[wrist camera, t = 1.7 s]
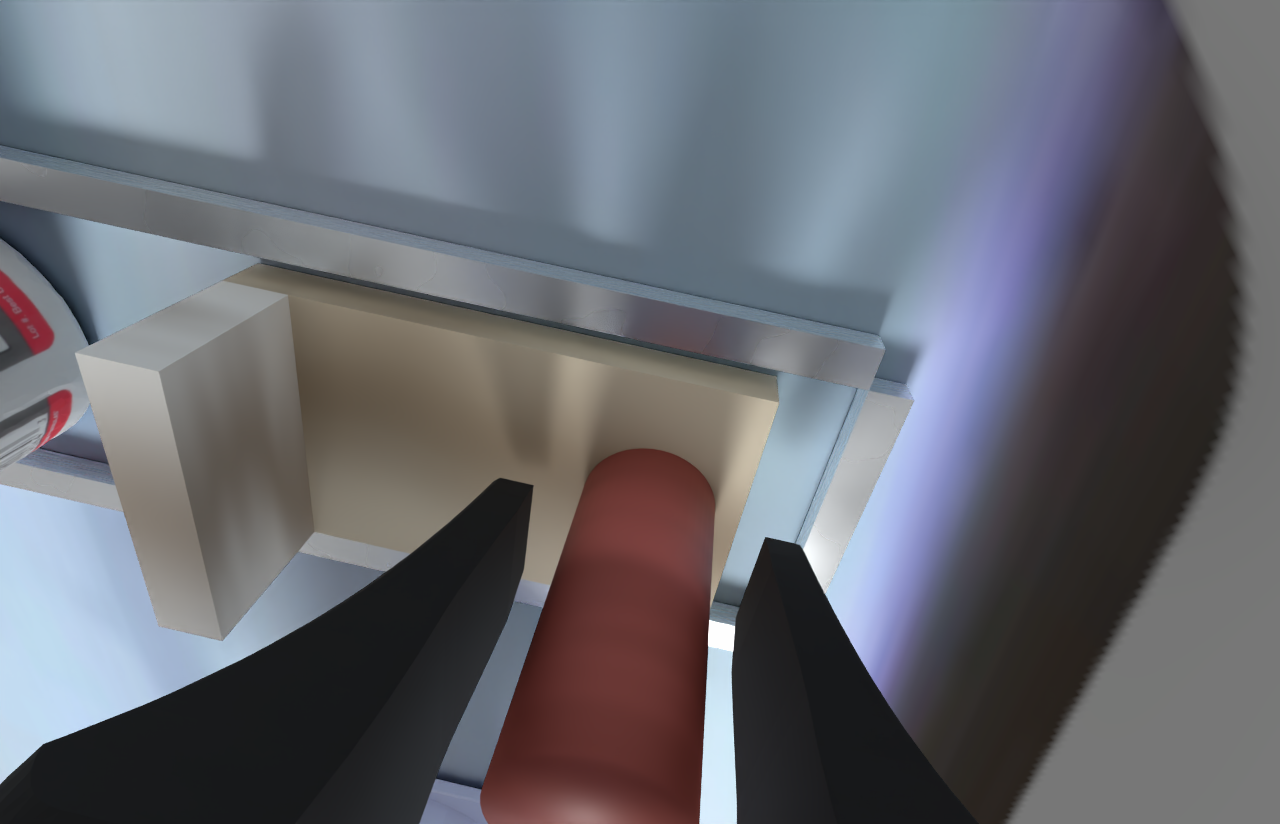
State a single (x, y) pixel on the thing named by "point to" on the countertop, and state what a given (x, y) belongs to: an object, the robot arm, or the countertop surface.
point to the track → (490, 286)
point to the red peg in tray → (451, 498)
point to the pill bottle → (35, 360)
